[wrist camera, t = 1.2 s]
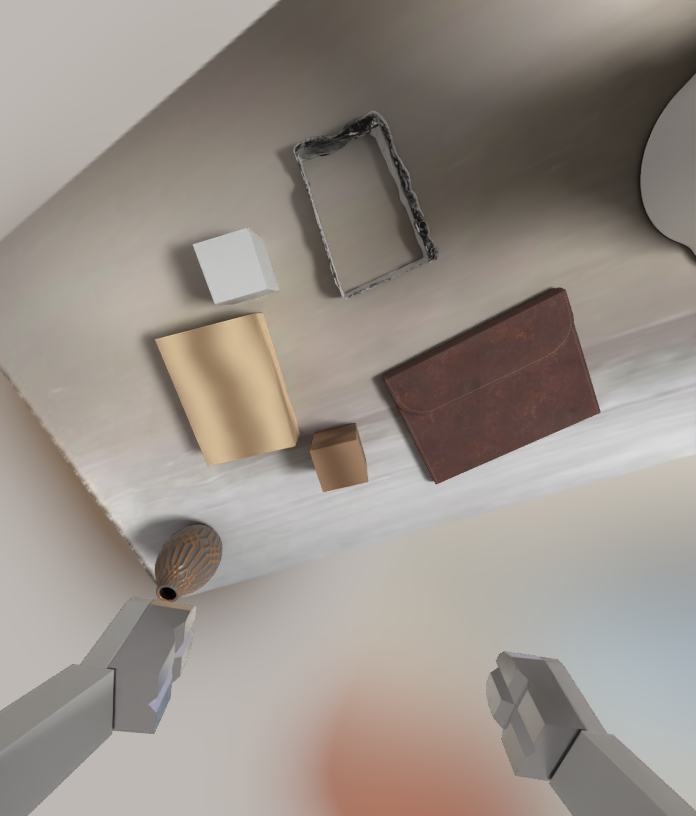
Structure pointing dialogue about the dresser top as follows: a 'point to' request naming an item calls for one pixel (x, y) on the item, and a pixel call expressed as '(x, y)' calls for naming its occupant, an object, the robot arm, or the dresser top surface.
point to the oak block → (231, 388)
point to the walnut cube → (339, 457)
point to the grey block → (236, 267)
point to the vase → (187, 562)
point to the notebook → (496, 387)
